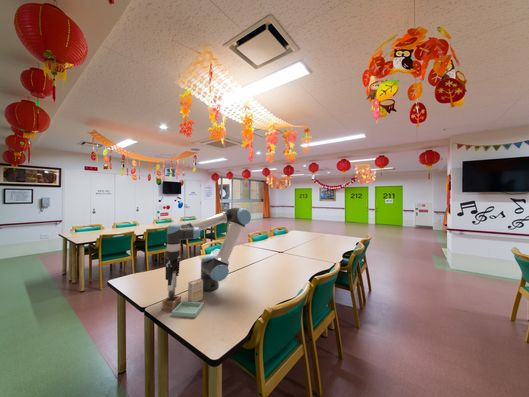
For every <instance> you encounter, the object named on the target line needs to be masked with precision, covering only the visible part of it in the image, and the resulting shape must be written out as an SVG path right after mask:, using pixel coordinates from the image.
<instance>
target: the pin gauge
mask: <svg viewBox="0 0 529 397" xmlns="http://www.w3.org/2000/svg"><path fill="white" fill-rule="evenodd" d="M172 279H173V290H168V289H167V292H168V294H167V297H173V296H176V287H175V280H176V270H173V276H172Z"/></svg>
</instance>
